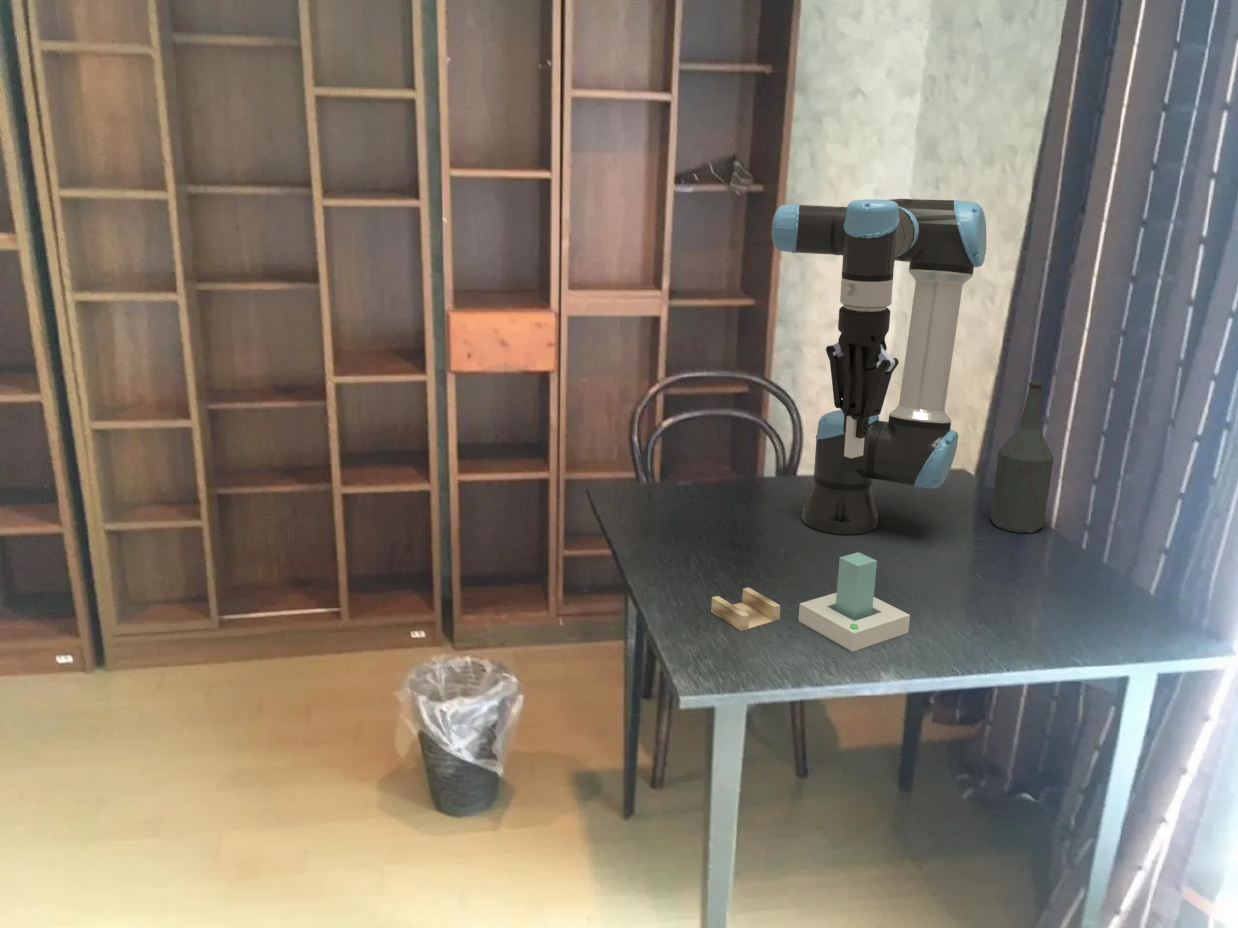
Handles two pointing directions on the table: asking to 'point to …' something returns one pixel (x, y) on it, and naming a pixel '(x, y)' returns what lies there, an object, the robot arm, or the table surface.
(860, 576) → the plug
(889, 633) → the frame
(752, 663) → the table surface
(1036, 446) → the bottle
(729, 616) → the wooden cradle
